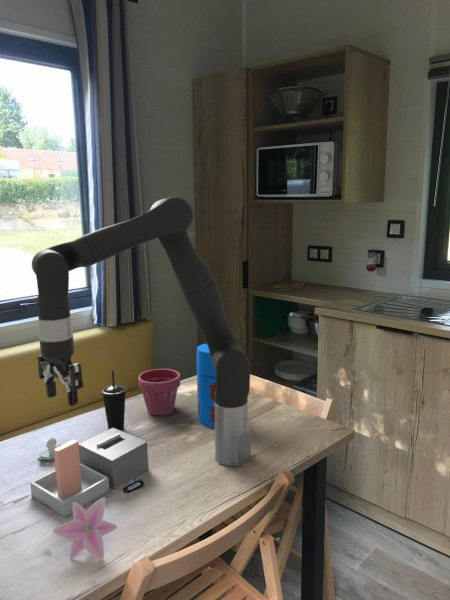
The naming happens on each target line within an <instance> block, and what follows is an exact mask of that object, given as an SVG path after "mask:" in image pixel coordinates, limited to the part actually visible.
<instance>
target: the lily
mask: <svg viewBox="0 0 450 600" xmlns="http://www.w3.org/2000/svg"><path fill="white" fill-rule="evenodd" d="M105 509H106V497H104V496H102V497H100V498H98V499H97V500H95V501H94V502H93V504H92V505H90V506H89V507H88V508H87V510H86V509H85V507H82V506H81V505H79V504H78V503H76V502H73V514H72V518H73V519H70V520H68V521H67V522H64V523H62V524H61V525H59V526H57V527H55V528H54V529H53V531H52V532H53V534H54V535H56V536H58V537H60V538H62V539H65V540H68V541H72V542H71V546H70V552H69V559H71V560H73V559H75V558H76V557H77V556H78V555H79V554H81V552H82V551H84V550H86V551H87V552H88V553H89V554H90V555H91V556H93V557H94V558H95V559H97V560H99V561H103V560H104V558H105V557H104V555H105V553H104V539H103V537H104V536H107V535H108V534H110V533H112V532H114V531H115V530H117V529H118V525H116V524H115V523H112V522H110V521H107V520H104V516H105V515H104V514H105Z"/></svg>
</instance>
